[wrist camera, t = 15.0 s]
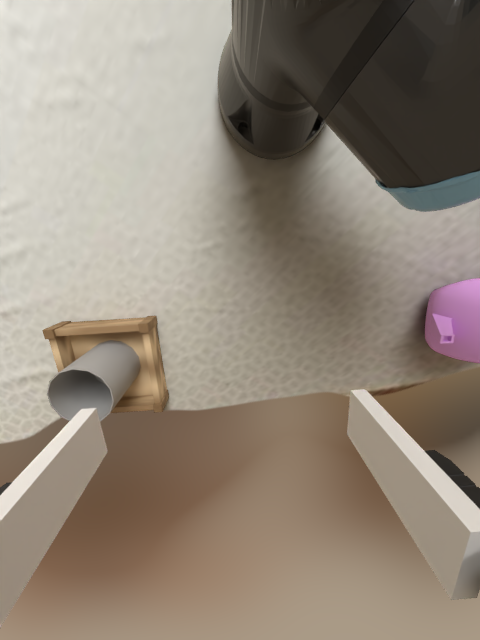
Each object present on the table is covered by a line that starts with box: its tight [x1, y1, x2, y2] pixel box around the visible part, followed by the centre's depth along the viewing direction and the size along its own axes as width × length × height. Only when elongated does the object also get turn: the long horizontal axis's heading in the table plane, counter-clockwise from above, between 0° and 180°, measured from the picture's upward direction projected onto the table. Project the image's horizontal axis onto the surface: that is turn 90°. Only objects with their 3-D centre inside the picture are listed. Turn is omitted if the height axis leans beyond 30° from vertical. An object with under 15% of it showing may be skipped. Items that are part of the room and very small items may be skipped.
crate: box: [43, 316, 169, 413], centre depth 40 cm, size 15×15×4 cm
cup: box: [47, 340, 141, 421], centre depth 37 cm, size 8×8×10 cm
